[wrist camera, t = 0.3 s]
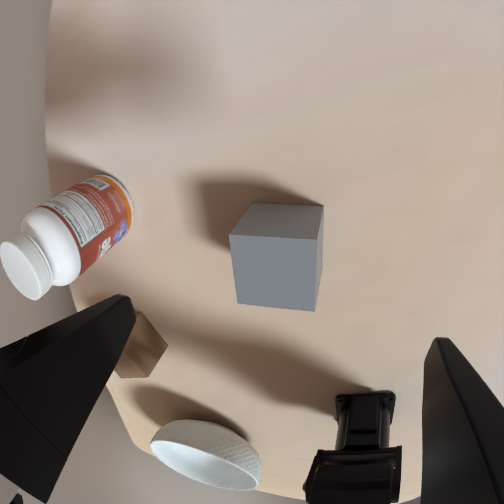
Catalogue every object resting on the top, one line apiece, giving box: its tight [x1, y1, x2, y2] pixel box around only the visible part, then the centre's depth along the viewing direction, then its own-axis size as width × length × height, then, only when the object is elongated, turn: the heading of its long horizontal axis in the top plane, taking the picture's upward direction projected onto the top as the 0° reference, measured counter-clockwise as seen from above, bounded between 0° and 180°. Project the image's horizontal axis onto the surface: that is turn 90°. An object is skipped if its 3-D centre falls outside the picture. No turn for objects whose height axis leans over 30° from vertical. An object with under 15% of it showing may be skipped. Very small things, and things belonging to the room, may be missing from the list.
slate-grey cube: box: [229, 203, 324, 312], centre depth 21 cm, size 5×5×5 cm
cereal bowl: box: [150, 419, 262, 490], centre depth 40 cm, size 17×17×7 cm
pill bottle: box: [0, 175, 134, 300], centre depth 21 cm, size 6×6×11 cm
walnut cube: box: [114, 312, 168, 378], centre depth 32 cm, size 5×5×5 cm
